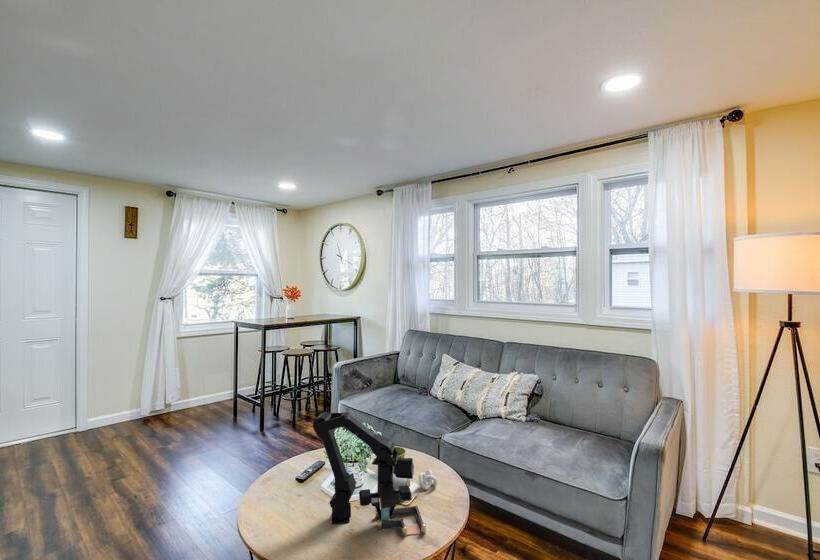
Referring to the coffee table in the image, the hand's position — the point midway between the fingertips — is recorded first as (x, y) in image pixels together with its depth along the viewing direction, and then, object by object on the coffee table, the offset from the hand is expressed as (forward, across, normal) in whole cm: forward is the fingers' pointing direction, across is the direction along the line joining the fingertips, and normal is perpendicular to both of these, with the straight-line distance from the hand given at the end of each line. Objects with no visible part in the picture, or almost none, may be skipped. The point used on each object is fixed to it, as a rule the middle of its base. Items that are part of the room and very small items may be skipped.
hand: (385, 518), depth 142 cm
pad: (+2, +9, -6) cm, 11 cm away
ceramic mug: (+2, +8, +18) cm, 20 cm away
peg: (+2, 0, 0) cm, 2 cm away
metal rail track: (+2, +5, -2) cm, 6 cm away
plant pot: (+2, +10, +38) cm, 39 cm away
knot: (+2, +21, +22) cm, 30 cm away
